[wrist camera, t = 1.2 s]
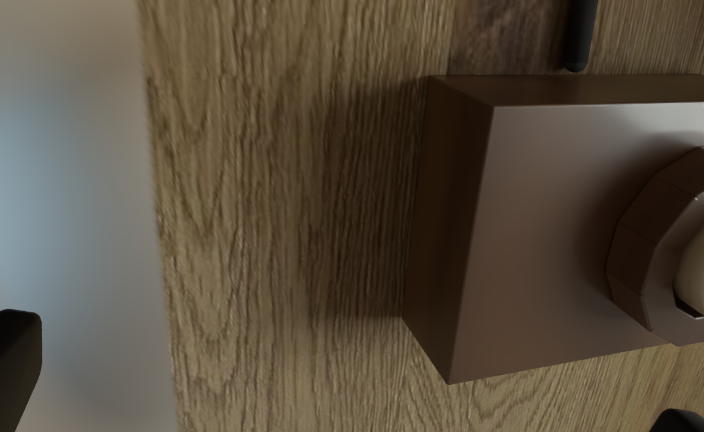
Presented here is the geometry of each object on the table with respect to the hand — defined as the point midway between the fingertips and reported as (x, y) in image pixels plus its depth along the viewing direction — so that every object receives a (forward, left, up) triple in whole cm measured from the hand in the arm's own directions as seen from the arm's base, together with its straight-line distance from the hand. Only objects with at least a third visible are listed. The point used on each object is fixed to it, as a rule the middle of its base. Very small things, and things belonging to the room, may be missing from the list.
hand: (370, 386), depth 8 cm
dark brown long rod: (+20, +24, -12) cm, 33 cm away
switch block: (+10, -7, -12) cm, 18 cm away
